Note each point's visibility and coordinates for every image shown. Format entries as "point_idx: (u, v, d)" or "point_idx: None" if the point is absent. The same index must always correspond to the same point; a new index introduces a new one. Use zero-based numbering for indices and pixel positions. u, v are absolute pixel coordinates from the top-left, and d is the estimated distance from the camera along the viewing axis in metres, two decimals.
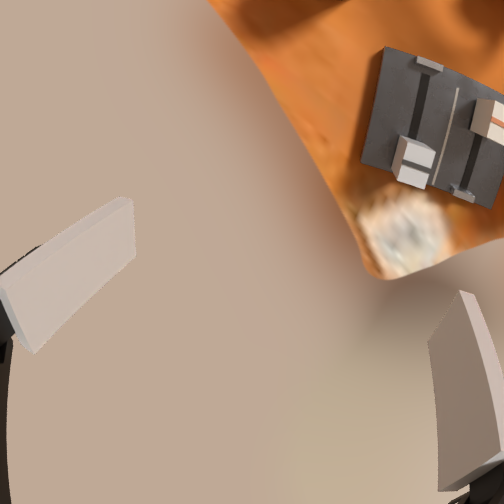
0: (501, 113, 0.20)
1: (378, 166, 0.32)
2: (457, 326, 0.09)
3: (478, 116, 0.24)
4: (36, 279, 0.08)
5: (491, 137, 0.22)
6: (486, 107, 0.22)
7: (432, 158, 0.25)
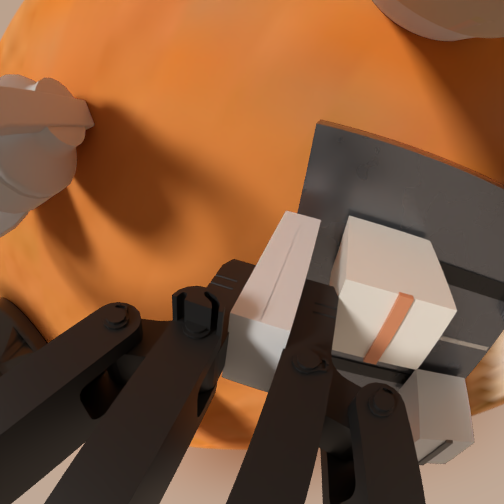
0: (356, 333, 0.10)
1: None
2: None
3: None
4: None
5: (419, 359, 0.10)
6: None
7: (429, 440, 0.12)
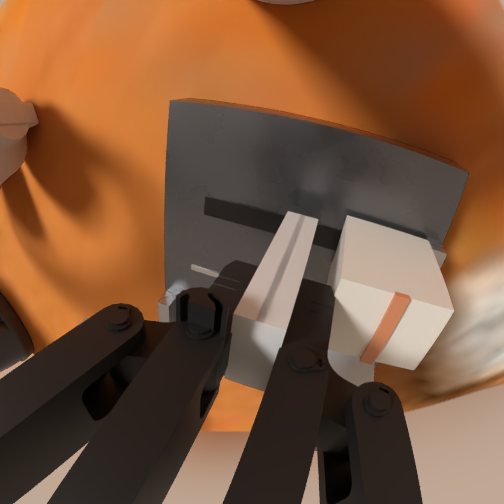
0: (352, 333, 0.10)
1: None
2: None
3: None
4: None
5: (416, 360, 0.10)
6: None
7: None
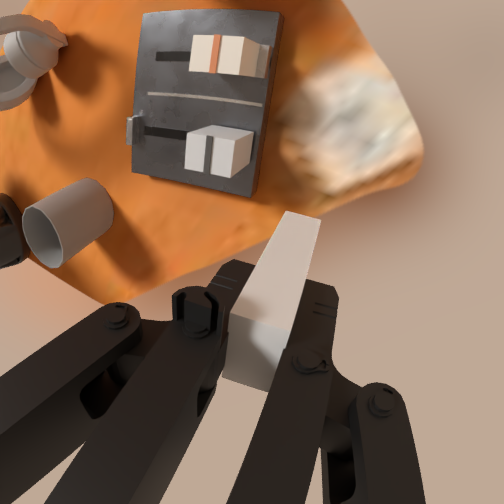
0: (202, 58, 0.20)
1: (251, 176, 0.29)
2: None
3: None
4: None
5: (237, 67, 0.19)
6: None
7: (195, 135, 0.23)
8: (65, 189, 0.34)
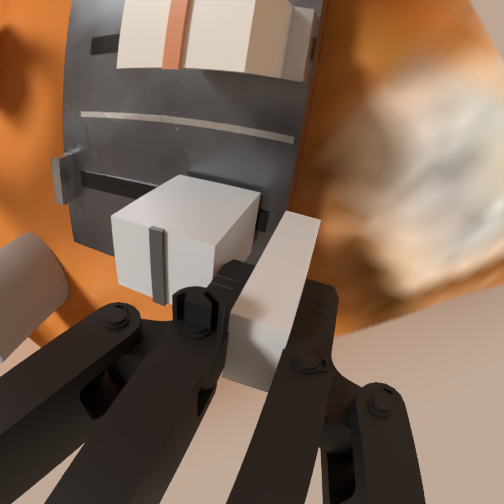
0: (147, 33, 0.07)
1: None
2: None
3: (225, 71, 0.10)
4: None
5: (240, 51, 0.06)
6: None
7: (127, 224, 0.10)
8: None
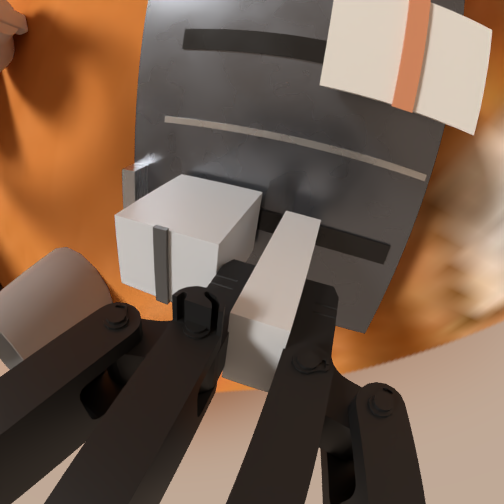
0: (370, 55, 0.06)
1: (375, 304, 0.15)
2: None
3: None
4: None
5: (472, 112, 0.05)
6: (356, 94, 0.08)
7: (130, 223, 0.10)
8: (33, 275, 0.20)
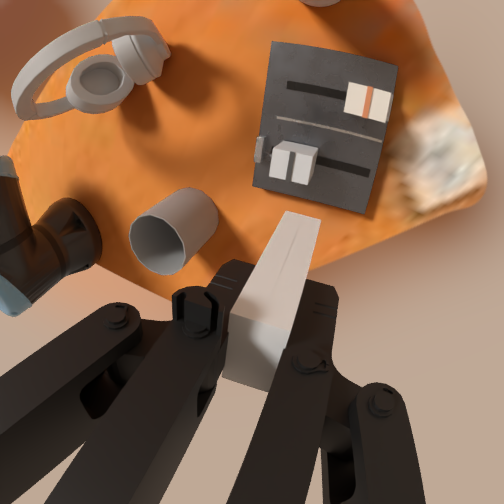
0: (356, 104, 0.25)
1: (367, 197, 0.34)
2: None
3: None
4: None
5: (384, 116, 0.25)
6: None
7: (280, 150, 0.30)
8: (175, 198, 0.39)
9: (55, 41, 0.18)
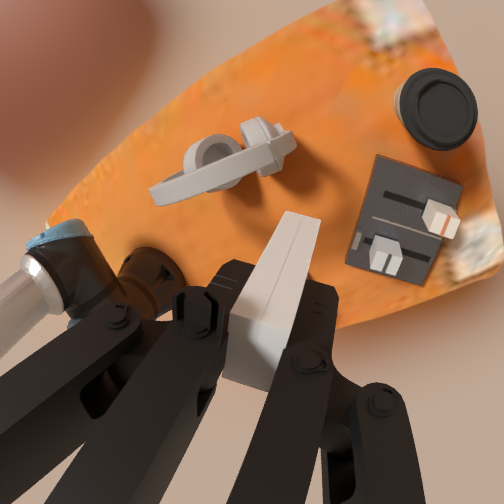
0: (437, 226, 0.36)
1: (425, 275, 0.45)
2: None
3: None
4: None
5: (453, 235, 0.36)
6: None
7: (381, 252, 0.40)
8: None
9: (230, 159, 0.29)
